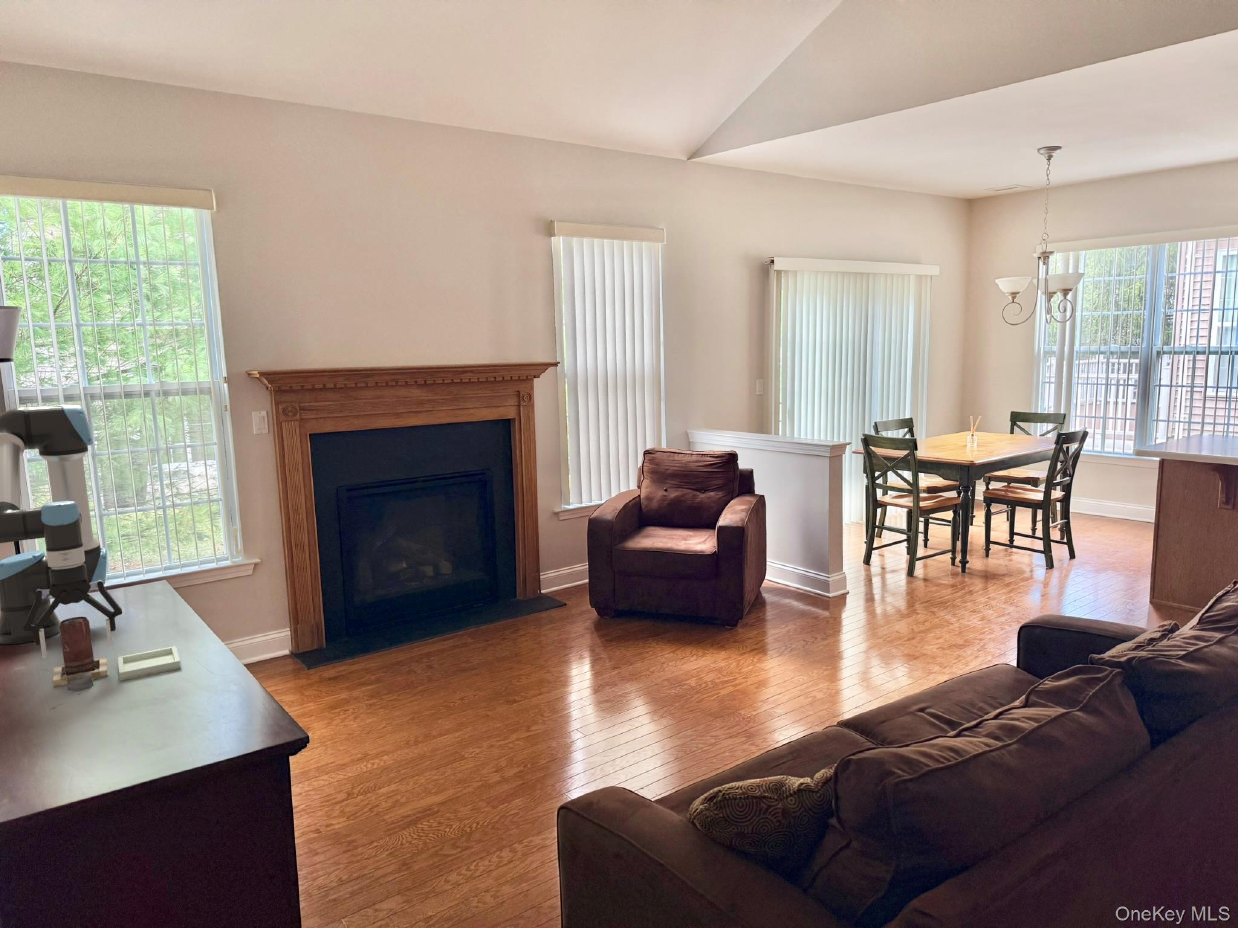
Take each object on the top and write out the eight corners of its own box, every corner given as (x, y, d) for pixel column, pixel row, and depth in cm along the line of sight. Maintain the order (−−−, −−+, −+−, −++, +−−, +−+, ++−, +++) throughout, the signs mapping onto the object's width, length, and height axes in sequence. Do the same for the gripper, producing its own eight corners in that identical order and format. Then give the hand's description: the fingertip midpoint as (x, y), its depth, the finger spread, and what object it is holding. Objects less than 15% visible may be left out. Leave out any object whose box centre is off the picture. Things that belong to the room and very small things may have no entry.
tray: (118, 664, 212) (117, 657, 212) (176, 653, 219) (175, 645, 218) (120, 680, 201) (119, 672, 201) (180, 668, 208) (179, 660, 207)
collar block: (55, 672, 208) (53, 660, 208) (107, 662, 214) (105, 650, 213) (52, 696, 193) (50, 682, 193) (108, 684, 199) (106, 671, 198)
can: (82, 679, 203) (74, 624, 201) (60, 678, 204) (52, 623, 202) (102, 670, 208) (95, 615, 207) (80, 669, 210) (73, 615, 208)
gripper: (2, 577, 193) (14, 666, 195) (127, 559, 206) (137, 643, 208) (5, 571, 199) (17, 657, 202) (126, 554, 212) (136, 635, 215)
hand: (78, 650), depth 205 cm, fingers open, 13 cm apart
